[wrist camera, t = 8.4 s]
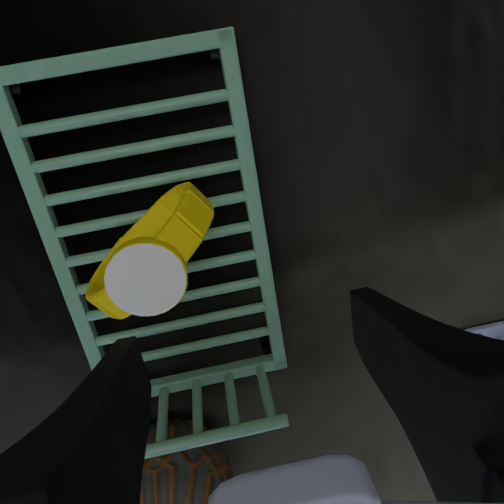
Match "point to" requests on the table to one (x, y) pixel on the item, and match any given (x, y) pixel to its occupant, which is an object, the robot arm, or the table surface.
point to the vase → (183, 469)
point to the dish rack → (28, 170)
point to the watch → (153, 257)
